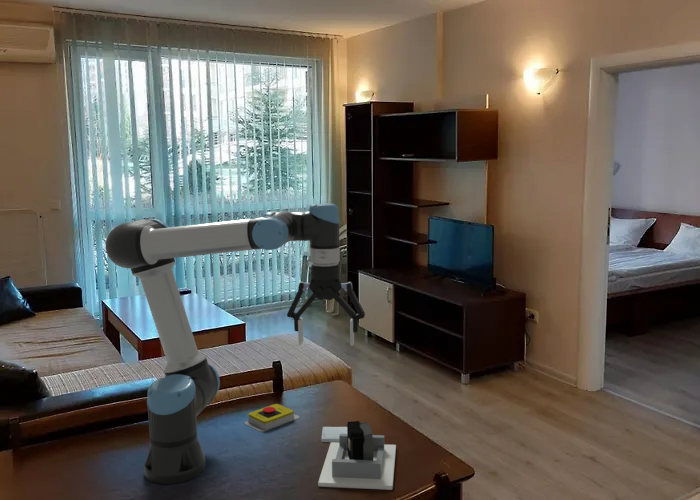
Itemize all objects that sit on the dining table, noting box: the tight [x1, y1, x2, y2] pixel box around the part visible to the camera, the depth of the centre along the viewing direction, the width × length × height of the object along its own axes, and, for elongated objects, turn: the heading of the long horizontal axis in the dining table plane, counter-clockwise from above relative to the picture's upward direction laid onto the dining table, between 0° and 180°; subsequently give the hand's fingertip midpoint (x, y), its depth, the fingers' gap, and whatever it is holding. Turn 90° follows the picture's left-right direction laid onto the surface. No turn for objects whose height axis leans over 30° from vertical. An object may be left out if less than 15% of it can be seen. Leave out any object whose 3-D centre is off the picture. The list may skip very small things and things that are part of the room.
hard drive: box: [320, 426, 347, 443], centre depth 182 cm, size 2×8×12 cm
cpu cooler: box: [346, 420, 374, 460], centre depth 163 cm, size 10×6×10 cm, turn 8°
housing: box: [317, 434, 397, 491], centre depth 163 cm, size 18×22×5 cm
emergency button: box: [244, 403, 300, 433], centre depth 193 cm, size 9×4×15 cm
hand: (326, 343), depth 166 cm, fingers open, 13 cm apart
